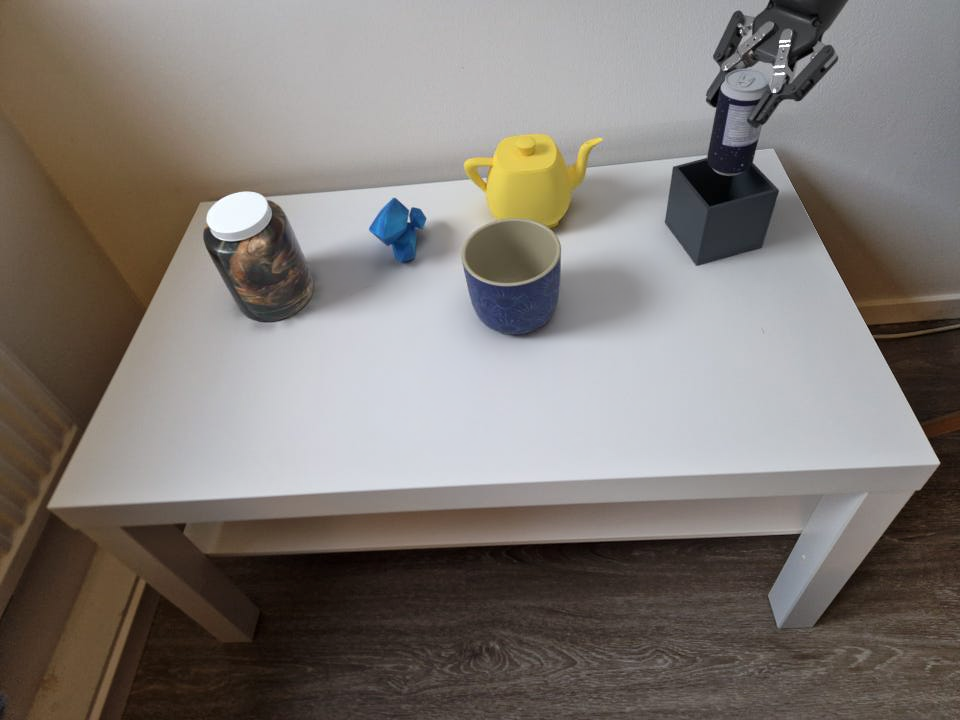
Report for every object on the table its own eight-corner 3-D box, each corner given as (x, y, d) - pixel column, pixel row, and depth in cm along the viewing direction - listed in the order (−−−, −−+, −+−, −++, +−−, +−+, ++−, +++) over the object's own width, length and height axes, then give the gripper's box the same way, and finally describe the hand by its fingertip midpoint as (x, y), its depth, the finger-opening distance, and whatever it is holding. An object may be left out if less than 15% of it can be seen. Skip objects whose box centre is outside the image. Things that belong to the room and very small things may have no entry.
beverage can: (758, 161, 87) (781, 73, 77) (739, 184, 84) (760, 96, 75) (717, 148, 89) (734, 62, 80) (698, 171, 87) (713, 84, 77)
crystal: (426, 184, 99) (414, 220, 89) (433, 236, 104) (422, 275, 95) (378, 186, 100) (360, 222, 90) (387, 238, 105) (372, 277, 96)
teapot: (604, 234, 98) (608, 162, 88) (470, 244, 100) (460, 175, 90) (594, 179, 106) (597, 108, 97) (471, 189, 108) (461, 121, 98)
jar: (220, 306, 97) (173, 226, 85) (273, 256, 103) (235, 175, 91) (280, 332, 92) (238, 252, 81) (331, 278, 98) (300, 196, 86)
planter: (461, 291, 94) (450, 231, 85) (544, 269, 95) (542, 207, 86) (484, 355, 86) (475, 296, 77) (574, 330, 87) (575, 269, 79)
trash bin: (726, 205, 99) (740, 148, 92) (762, 247, 93) (779, 190, 85) (664, 222, 98) (672, 166, 91) (696, 265, 92) (707, 209, 84)
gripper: (761, -59, 75) (673, 80, 81) (876, -25, 67) (769, 127, 73) (781, -25, 81) (697, 103, 87) (889, 10, 73) (789, 149, 79)
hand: (730, 114), depth 80 cm, fingers closed on beverage can, 5 cm apart
